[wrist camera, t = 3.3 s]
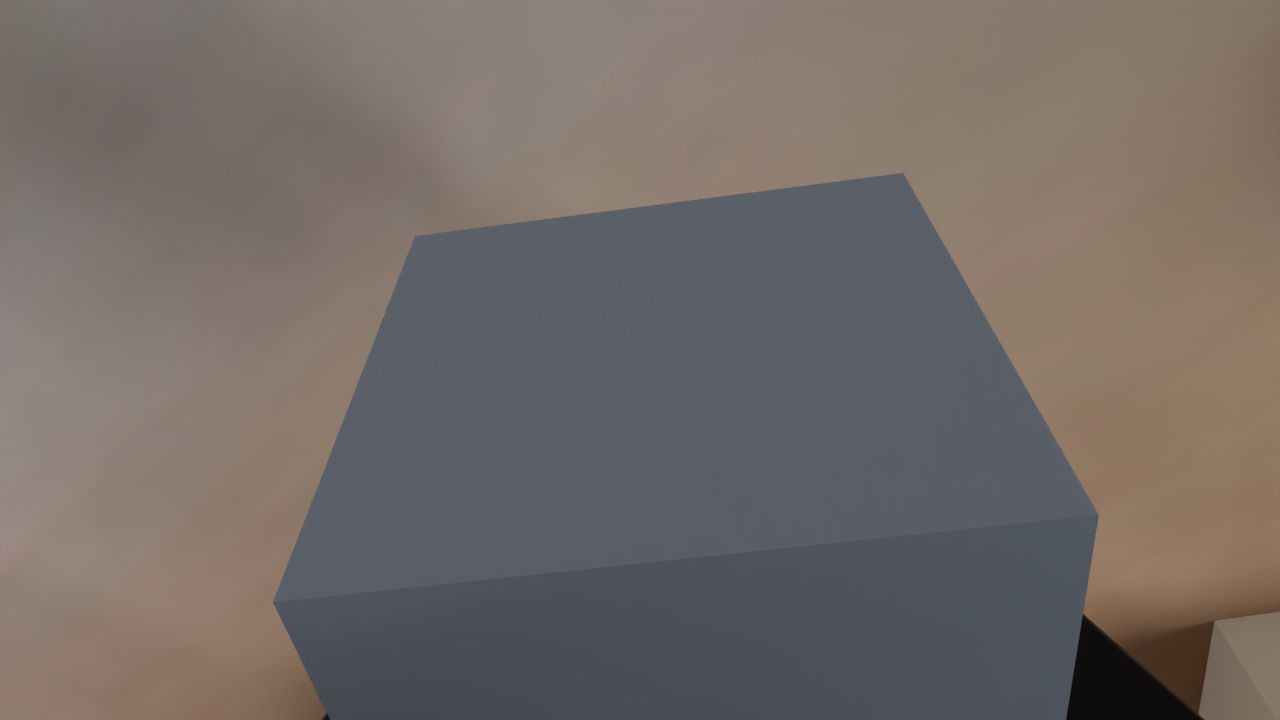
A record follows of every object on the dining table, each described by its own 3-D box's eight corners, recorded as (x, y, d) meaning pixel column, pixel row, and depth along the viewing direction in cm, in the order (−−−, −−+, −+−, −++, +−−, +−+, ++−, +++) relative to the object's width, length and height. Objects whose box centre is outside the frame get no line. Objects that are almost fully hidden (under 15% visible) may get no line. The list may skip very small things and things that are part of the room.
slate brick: (414, 236, 8) (274, 602, 5) (902, 173, 8) (1099, 516, 5) (549, 698, 12) (517, 1105, 8) (897, 664, 11) (1010, 1069, 8)
